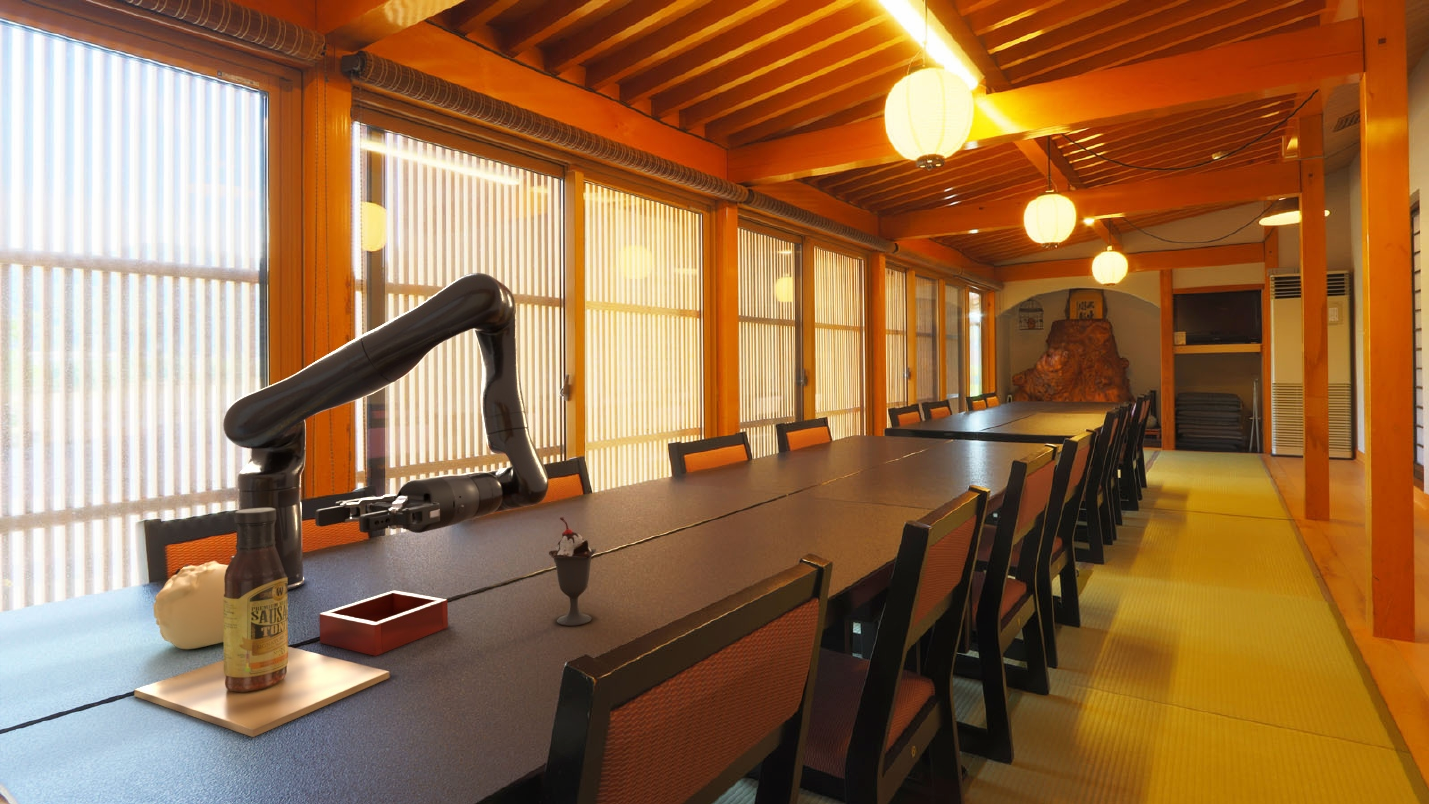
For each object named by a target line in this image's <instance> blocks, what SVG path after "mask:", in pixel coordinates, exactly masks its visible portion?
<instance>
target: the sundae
mask: <svg viewBox="0 0 1429 804" xmlns="http://www.w3.org/2000/svg"><path fill="white" fill-rule="evenodd" d="M560 520H561V521H562V522H563V523H564V525H565V530H564V531H563V532H562V533H561V539H560V540H559V541H558V543H557V545H556V549H553V550H550V551H549V552H548V555H549V556H550V557H551V558H552V559H553V560H554V563H555V568H556V575H557V576H556V577H557V583H558V586H559V589H560V591H561V592H562V593H563V594H564V595H565V596H567V597H568V598H569V610H568V613H567V614H565V615H562V616H560V617H558V618H557V620H556V622H557V624H559V625H560V626H566V627H576V626H582V625H585V624H588V623H590V622H591V621H592V617H591V615H589V614H586V613H582V612H581V611H580V608H579V597H580V596H581V595H582V594H583V593H585V591H586V589H587V588H588V585H589V579H590V572H591V562H592V556H593V555H594V554H596V552H597V549H596V548H590V546H589V540H587V539H585V538H583V536H582V535H581V534H579V533H578V532H574V531H573V529H571V528H569V525H568V523H567V521H566V520H565V518H564V517H563V516H560V517H559V521H560Z"/></svg>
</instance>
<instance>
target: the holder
mask: <svg viewBox="0 0 1429 804" xmlns="http://www.w3.org/2000/svg"><path fill="white" fill-rule="evenodd" d="M448 609H449V608H448V599H445V598H439V597H433V596H429V595H424V594H423V595H422V594H418V593H412V592H405V591H401V590H400V591H399V590H391V591H388V592H385V593H381V594H378V595H374V596H372V597H368V598H365V599H362V600H359V601H356V602H353V603H350V604H346V605H343V606H340V607H337V608H334V609H330V610H326V611H324V612H320V613H319V614H318V615H319V616H318V617H319V620H318V621H319V643H320V644H323V645H328V646H331V647H336V648H339V649H343V650H344V649H345V650H348V651H352V652H356V653H362V654H366V655H370V656H373V657H376V656H379V655H382V654H385V653H386V652H389V651H392V650H395V649H397V648H400V647H402V646H404V645H407V644H409V643H412V642H414V641H417V640H420V639H422V638H425V637H427V636H429V635H433V634H435V633H438V632H440V631H442V630H445V629H447V628H449V611H448Z"/></svg>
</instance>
